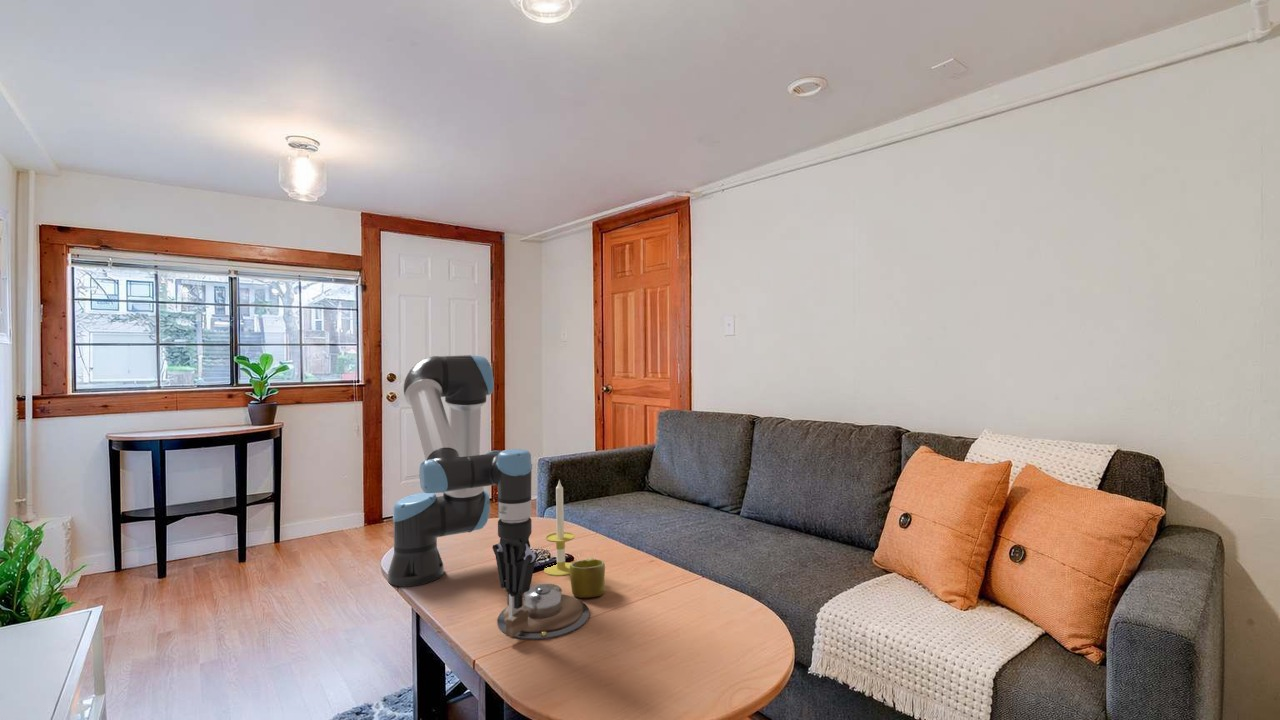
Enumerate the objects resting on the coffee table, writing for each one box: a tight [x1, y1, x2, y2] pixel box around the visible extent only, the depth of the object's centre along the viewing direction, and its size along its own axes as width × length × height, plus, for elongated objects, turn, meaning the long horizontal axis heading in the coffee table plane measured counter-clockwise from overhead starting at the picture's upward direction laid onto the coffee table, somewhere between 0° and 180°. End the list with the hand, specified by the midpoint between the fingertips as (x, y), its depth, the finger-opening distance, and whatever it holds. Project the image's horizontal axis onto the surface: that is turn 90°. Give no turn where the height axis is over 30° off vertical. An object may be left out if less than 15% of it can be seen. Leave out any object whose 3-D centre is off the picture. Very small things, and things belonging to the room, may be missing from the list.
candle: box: [543, 479, 576, 577], centre depth 169 cm, size 10×10×27 cm
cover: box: [523, 583, 563, 619], centre depth 138 cm, size 9×9×5 cm
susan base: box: [497, 599, 590, 641], centre depth 138 cm, size 22×22×1 cm
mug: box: [569, 557, 606, 599], centre depth 153 cm, size 12×10×10 cm
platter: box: [504, 594, 583, 638], centre depth 136 cm, size 19×24×5 cm
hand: (515, 620), depth 130 cm, fingers closed
